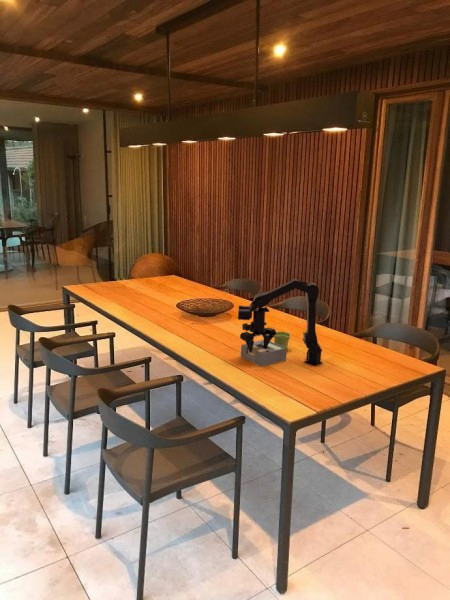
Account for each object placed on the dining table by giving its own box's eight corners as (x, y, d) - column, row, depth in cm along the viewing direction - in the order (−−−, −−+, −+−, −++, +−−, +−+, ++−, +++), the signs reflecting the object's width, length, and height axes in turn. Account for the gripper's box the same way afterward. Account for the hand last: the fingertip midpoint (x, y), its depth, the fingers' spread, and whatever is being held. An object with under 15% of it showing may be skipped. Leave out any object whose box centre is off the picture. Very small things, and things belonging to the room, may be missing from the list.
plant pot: (292, 349, 256) (293, 333, 254) (285, 354, 248) (286, 338, 246) (276, 345, 260) (277, 330, 258) (269, 350, 252) (269, 334, 250)
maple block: (266, 357, 233) (266, 350, 233) (260, 358, 231) (260, 351, 230) (254, 352, 240) (254, 345, 240) (248, 353, 238) (248, 346, 237)
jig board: (286, 360, 239) (286, 347, 237) (261, 366, 229) (262, 353, 228) (264, 351, 251) (265, 339, 249) (240, 357, 241) (241, 344, 240)
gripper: (262, 313, 243) (261, 343, 247) (233, 319, 232) (232, 349, 236) (277, 318, 235) (275, 349, 238) (248, 324, 224) (246, 356, 227)
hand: (257, 350), depth 235 cm, fingers open, 9 cm apart
